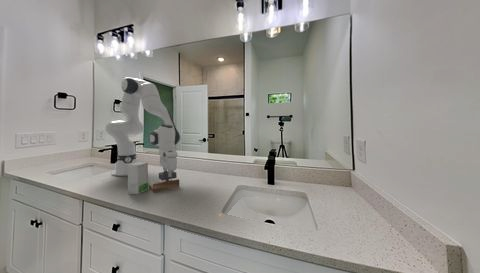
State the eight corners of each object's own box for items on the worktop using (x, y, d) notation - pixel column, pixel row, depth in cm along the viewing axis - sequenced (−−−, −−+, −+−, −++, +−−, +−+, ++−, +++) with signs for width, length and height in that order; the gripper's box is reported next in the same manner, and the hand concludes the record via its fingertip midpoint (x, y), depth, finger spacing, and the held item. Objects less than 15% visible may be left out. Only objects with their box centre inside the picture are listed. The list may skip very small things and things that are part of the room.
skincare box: (137, 194, 93) (137, 165, 92) (127, 193, 94) (126, 164, 93) (149, 189, 101) (148, 162, 100) (139, 188, 102) (138, 161, 101)
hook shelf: (148, 186, 105) (148, 172, 105) (172, 181, 114) (172, 168, 114) (153, 192, 96) (153, 177, 95) (179, 187, 105) (179, 172, 104)
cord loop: (158, 178, 106) (158, 172, 106) (173, 175, 111) (172, 170, 111) (161, 180, 101) (161, 175, 101) (176, 178, 106) (176, 172, 106)
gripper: (156, 150, 111) (157, 172, 112) (167, 155, 95) (167, 180, 96) (167, 149, 115) (167, 170, 116) (178, 153, 99) (179, 178, 100)
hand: (167, 175), depth 106 cm, fingers closed on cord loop, 6 cm apart
